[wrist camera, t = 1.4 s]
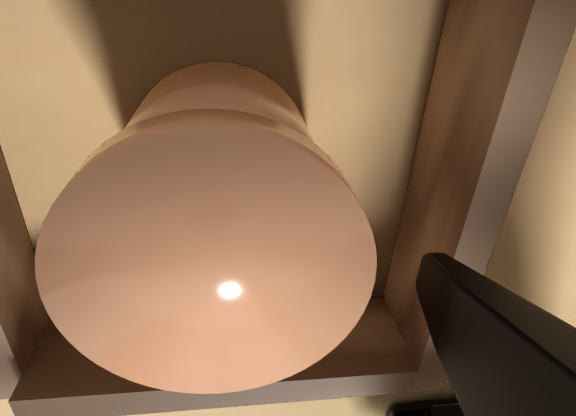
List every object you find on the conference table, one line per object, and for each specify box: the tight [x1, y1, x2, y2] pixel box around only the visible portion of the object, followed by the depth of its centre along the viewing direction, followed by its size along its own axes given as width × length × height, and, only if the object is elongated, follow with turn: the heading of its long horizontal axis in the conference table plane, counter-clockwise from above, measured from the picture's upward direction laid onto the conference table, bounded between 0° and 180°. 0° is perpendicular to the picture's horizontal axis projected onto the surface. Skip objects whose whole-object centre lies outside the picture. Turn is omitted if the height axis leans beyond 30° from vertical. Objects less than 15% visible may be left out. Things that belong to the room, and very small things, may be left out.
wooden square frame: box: [0, 0, 576, 416], centre depth 12 cm, size 16×16×4 cm
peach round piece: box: [35, 62, 377, 394], centre depth 11 cm, size 7×7×7 cm
